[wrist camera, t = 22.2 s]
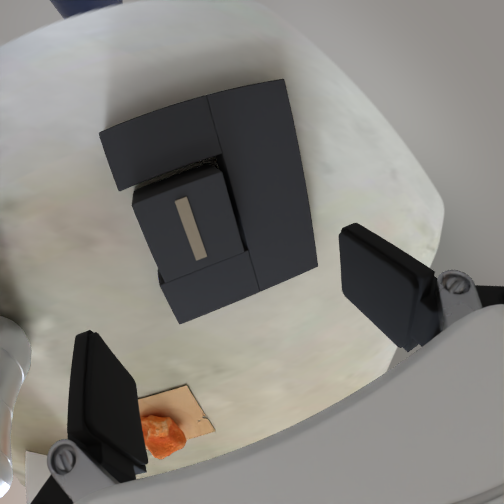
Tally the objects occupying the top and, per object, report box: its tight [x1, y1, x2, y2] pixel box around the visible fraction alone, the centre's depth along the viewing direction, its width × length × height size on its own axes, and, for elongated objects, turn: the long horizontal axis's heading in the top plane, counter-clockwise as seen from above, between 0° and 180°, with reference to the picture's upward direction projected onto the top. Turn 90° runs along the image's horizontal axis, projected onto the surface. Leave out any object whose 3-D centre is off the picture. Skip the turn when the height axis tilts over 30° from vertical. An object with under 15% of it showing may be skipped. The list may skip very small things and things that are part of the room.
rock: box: [138, 385, 215, 459], centre depth 30 cm, size 12×12×4 cm
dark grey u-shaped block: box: [99, 79, 318, 324], centre depth 22 cm, size 16×13×2 cm
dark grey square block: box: [132, 163, 244, 283], centre depth 20 cm, size 6×6×4 cm
